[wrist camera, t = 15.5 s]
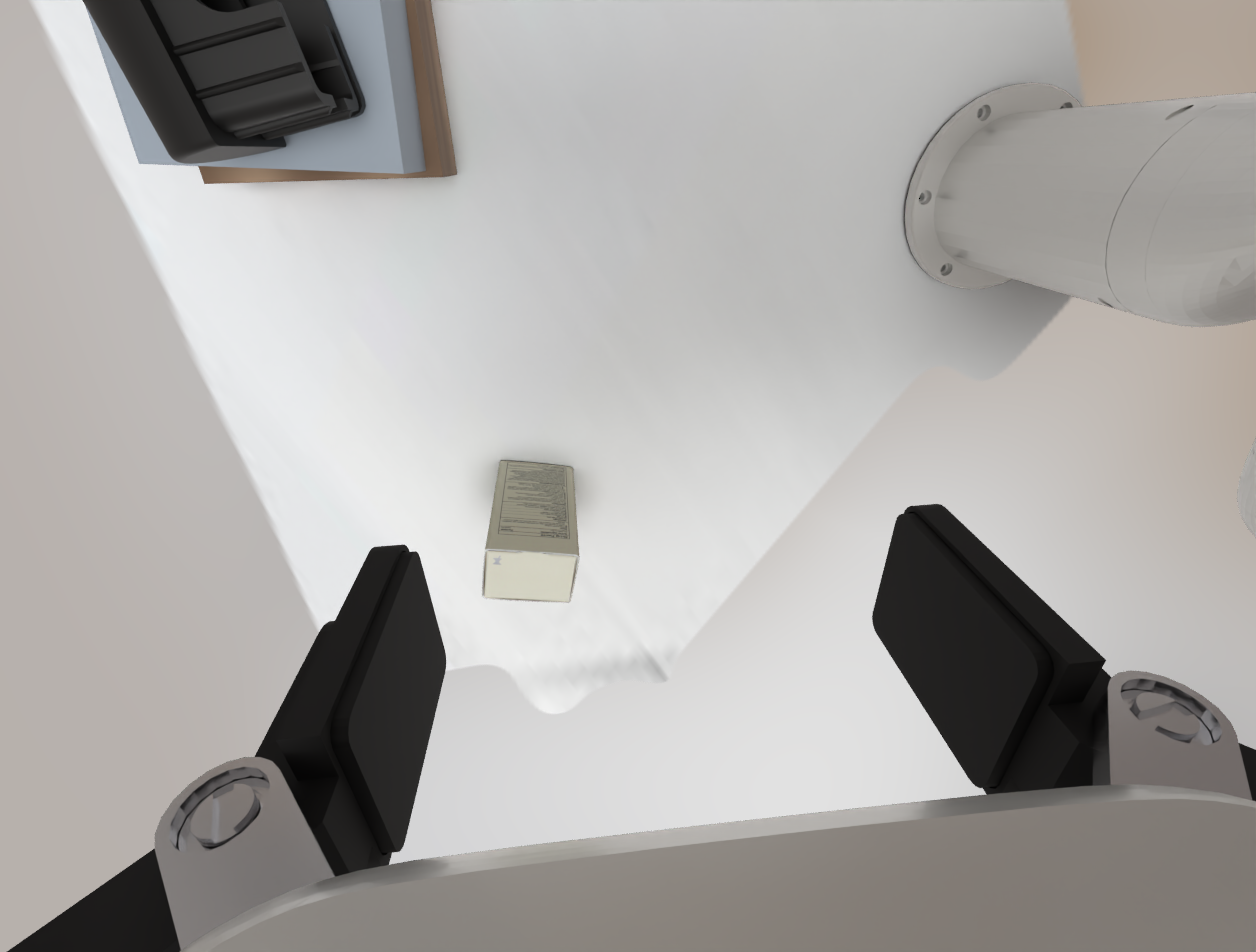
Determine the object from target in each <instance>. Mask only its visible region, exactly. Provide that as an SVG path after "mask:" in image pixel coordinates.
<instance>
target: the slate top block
mask: <svg viewBox="0 0 1256 952" xmlns="http://www.w3.org/2000/svg"><path fill="white" fill-rule="evenodd" d="M326 1H327V3H328V6H329V8H330V11H331V14H332V16H333V19H334V21H335V24H336V27H337V29H338V32H339V34H340V37H341V39H342V42H343V45H344V47H345V50H346V52H347V55H348V57H349V60H350V63H351V65H352V68H353V70H354V73H355V75H356V78H357V81H358V83H359V86H360V88H361V91H362V94H363V96H364V99H365V105H366V107H365V110H364V113H363V114H361V115H360V116H358V117H354V118H351V119H347V120H343V121H340V122H336V123H332V124H329V125H325V126H321V127H318V128H314V129H310V130H307V131H303V132H299V133H295V134H292V135H288V136H283V137H284V139H285V141H286V147H284V148H280V149H276V150H272V151H268V152H264V153H259V154H255V155H250V156H245V157H240V158H234V159H229V160H222V161H216V162H207V163H196V164H184V163H179V162H176V161H175V160H173V159H172V158H171V157H170V155H169V154H168V152H167V150H166V149H165V147H164V145H163V143H162V141H161V140H160V138H159V136H158V134H157V132H156V131H155V129H154V127H153V125H152V123H151V122H150V120H149V118H148V116H147V115H146V113H145V111H144V109H143V107H142V106H141V104H140V102H139V100H138V98H137V97H136V95H135V93H134V91H133V90H132V88H131V86H130V84H129V82H128V81H127V79H126V77H125V75H124V73H123V72H122V70H121V68H120V66H119V64H118V63H117V61H116V59H115V57H114V56H113V54H112V52H111V50H110V48H109V47H108V45H107V43H106V41H105V39H104V38H103V36H102V34H101V32H100V30H99V29H98V27H97V25H96V23H95V22H94V20H93V18H92V16H91V14H90V13H89V11H88V9H87V11H88V14H89V17H90V20H91V23H92V26H93V29H94V32H95V35H96V38H97V41H98V44H99V47H100V50H101V53H102V56H103V59H104V61H105V64H106V67H107V70H108V73H109V76H110V79H111V82H112V85H113V88H114V91H115V94H116V97H117V100H118V103H119V106H120V109H121V112H122V115H123V117H124V120H125V123H126V126H127V129H128V132H129V135H130V138H131V141H132V144H133V147H134V150H135V153H136V156H137V159H138V162H139V164H161V165H187V166H213V167H239V168H266V169H292V170H318V171H344V172H370V173H396V174H406V173H414V172H422V171H426V167H425V158H424V150H423V142H422V134H421V125H420V117H419V109H418V101H417V93H416V84H415V76H414V68H413V60H412V51H411V43H410V35H409V27H408V19H407V10H406V2H405V0H326ZM85 6H86V5H85ZM86 8H87V7H86Z"/></svg>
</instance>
